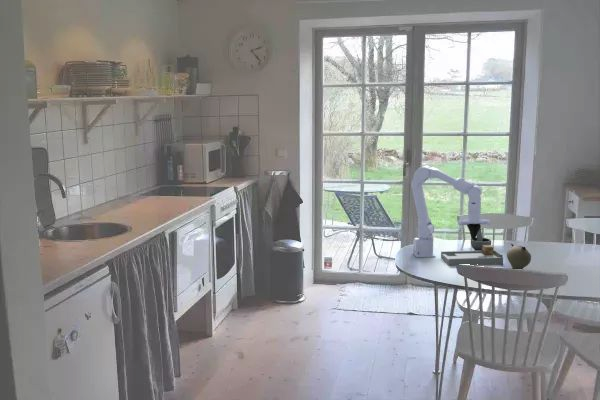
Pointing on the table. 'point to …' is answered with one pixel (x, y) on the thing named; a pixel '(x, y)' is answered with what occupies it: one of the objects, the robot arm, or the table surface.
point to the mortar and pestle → (479, 241)
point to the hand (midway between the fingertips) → (473, 239)
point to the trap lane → (471, 258)
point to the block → (487, 249)
